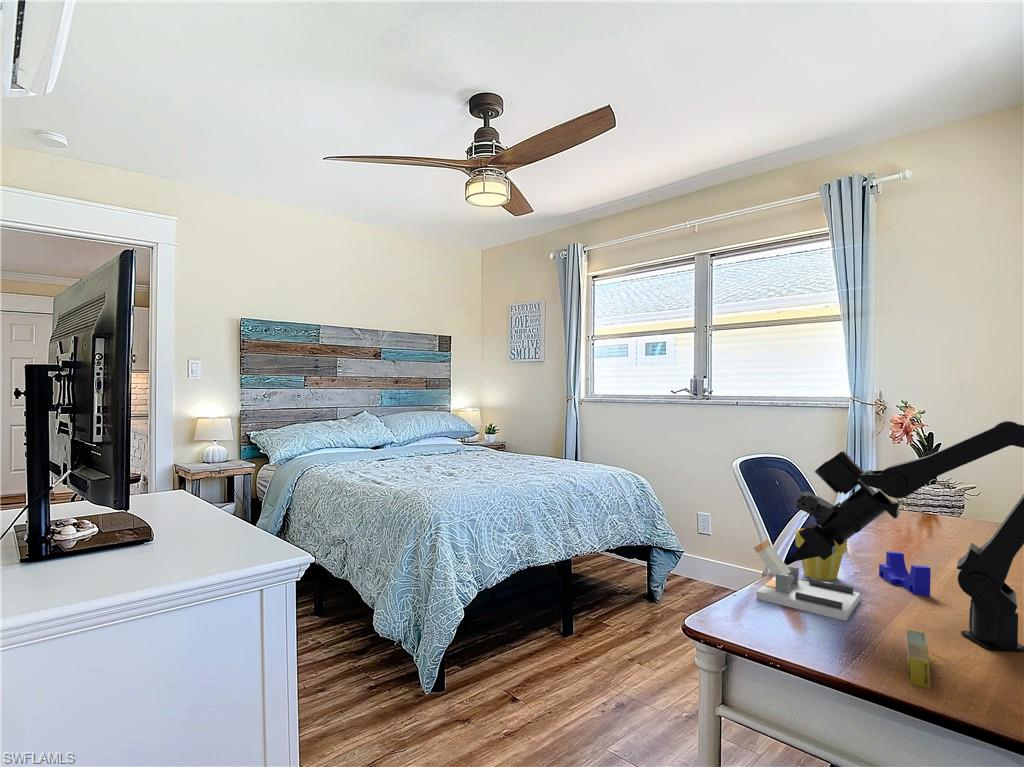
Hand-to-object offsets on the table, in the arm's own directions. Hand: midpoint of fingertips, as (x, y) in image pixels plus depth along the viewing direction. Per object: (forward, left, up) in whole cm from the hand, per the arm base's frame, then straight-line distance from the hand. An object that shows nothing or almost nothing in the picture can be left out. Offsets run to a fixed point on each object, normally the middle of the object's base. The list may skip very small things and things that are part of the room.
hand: (794, 558), depth 119 cm
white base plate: (-2, -2, -8) cm, 8 cm away
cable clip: (+9, -28, -8) cm, 31 cm away
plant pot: (+14, -12, -8) cm, 20 cm away
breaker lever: (+1, +1, -5) cm, 5 cm away
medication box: (-30, -5, -8) cm, 32 cm away
